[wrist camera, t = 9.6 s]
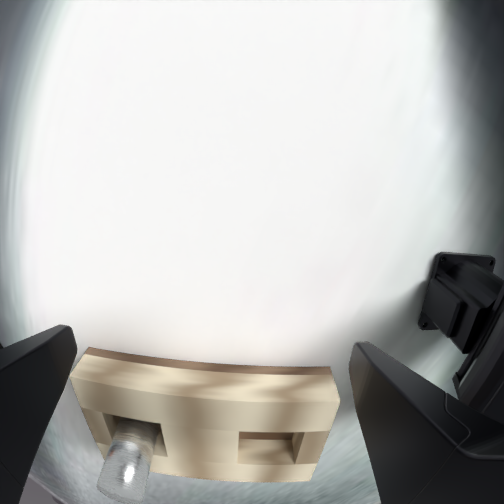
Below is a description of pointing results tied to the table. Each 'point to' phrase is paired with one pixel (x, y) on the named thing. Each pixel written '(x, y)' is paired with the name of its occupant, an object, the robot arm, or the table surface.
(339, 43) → the table surface
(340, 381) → the table surface
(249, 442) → the bore block
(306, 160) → the table surface
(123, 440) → the pin
